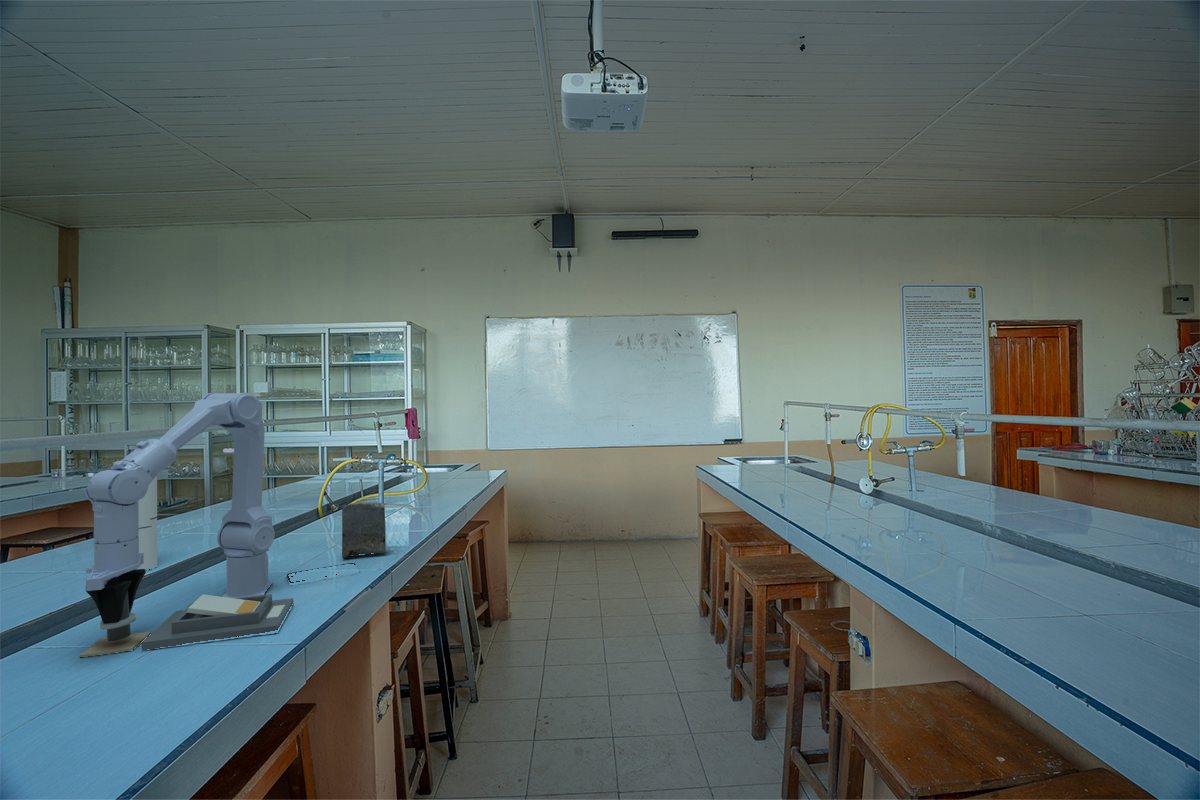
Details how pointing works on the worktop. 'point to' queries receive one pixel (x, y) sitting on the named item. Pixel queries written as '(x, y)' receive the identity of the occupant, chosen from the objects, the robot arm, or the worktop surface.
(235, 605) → the rocker switch
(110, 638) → the dark round-ended cylinder
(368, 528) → the geological specimen
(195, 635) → the switch panel
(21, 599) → the worktop surface
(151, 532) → the cylindrical container
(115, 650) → the pad
